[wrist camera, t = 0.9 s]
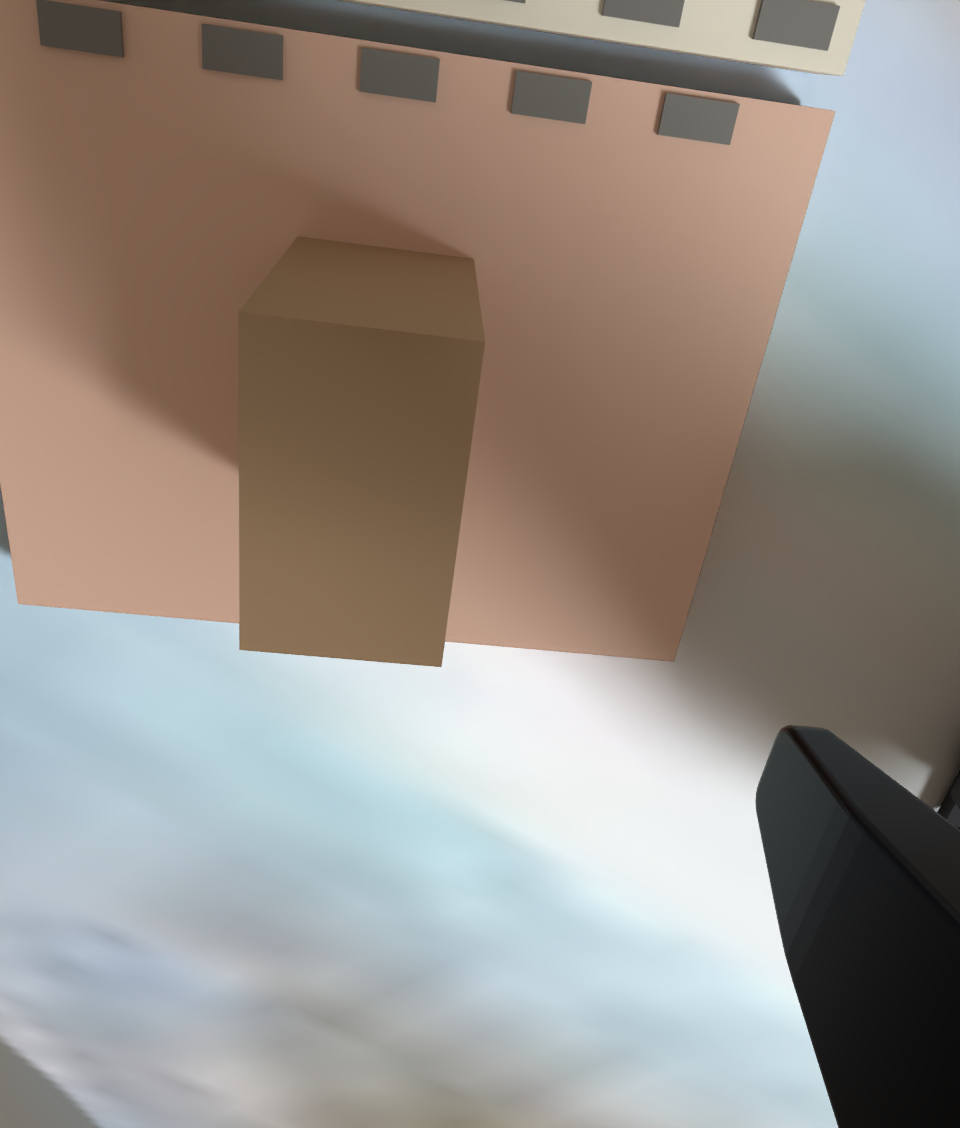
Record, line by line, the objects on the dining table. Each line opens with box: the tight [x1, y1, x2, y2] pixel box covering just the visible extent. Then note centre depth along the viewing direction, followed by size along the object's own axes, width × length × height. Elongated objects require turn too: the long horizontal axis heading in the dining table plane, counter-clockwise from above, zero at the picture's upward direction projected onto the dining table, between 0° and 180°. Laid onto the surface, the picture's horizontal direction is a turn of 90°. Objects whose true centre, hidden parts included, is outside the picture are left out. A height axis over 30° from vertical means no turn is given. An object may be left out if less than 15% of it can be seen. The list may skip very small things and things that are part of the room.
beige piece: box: [0, 0, 835, 667], centre depth 15 cm, size 14×11×6 cm
